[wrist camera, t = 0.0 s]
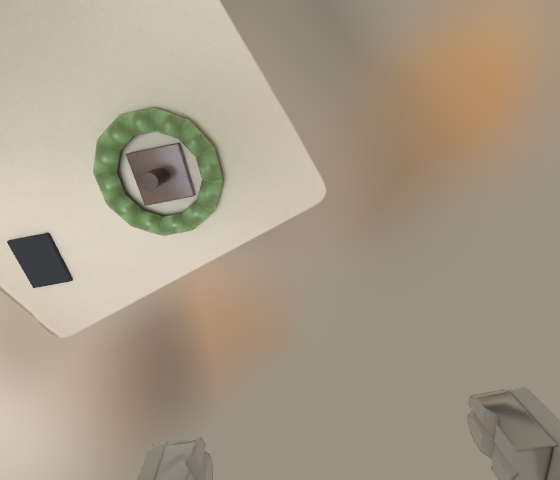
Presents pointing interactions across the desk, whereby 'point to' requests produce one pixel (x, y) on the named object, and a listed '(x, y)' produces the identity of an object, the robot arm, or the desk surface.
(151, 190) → the stand
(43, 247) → the mat
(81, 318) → the desk surface
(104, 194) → the ring
